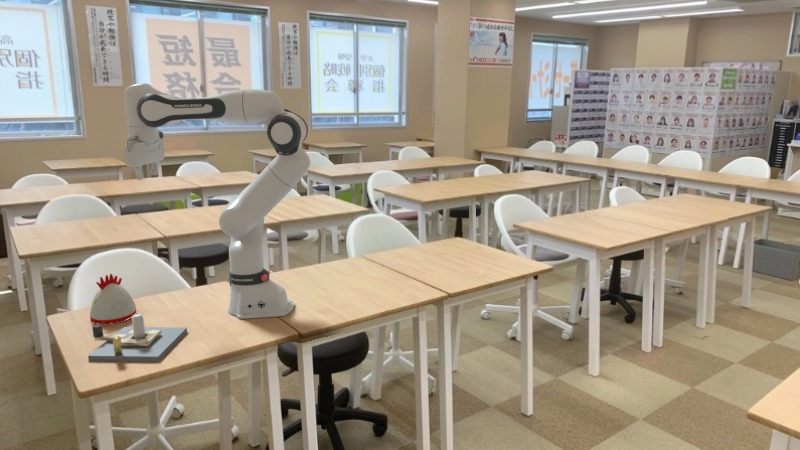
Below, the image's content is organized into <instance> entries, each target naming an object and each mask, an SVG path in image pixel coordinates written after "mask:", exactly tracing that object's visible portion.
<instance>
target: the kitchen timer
mask: <svg viewBox="0 0 800 450" xmlns="http://www.w3.org/2000/svg"><path fill="white" fill-rule="evenodd" d="M122 278H123V277H119V279H118V275H113V274H112V273H109V275H108V274H105V278H103V277H102V276H100V277H99V280H100V282H98V281H96V285H97V286H98V287H99V288H98V290H97V291H96V292H95V294H94V296H93V299H92V302H91V306H90V311H89V317H90V322H91V321H92V322H94V323H99V324H98V325H100V324H107V325H111V324H110V323H115V324H118V323H117V322H120V323H122V322H121V321H124V320H126V319H128V318H130V317H132V316H133V315H135V313H136V312H137V307H136V304H135V303H136V302H135V301H134V299H133V297H132V295H131V294H130V293H129V291H128V290H127V289H126V288H125V287H123V285H121V283H122ZM136 314H137V313H136ZM92 322H91V323H92ZM124 322H125V321H124ZM94 323H93V324H94Z"/></svg>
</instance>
